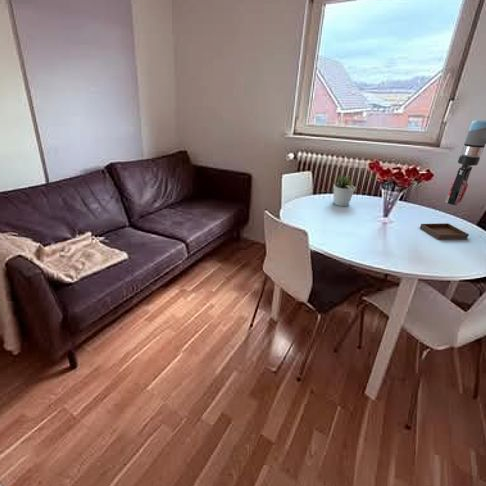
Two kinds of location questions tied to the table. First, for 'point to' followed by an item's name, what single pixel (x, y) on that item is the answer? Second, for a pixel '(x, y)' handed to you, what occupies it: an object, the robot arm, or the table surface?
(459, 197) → the beverage can
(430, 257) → the table surface
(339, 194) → the potted plant
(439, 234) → the tray
